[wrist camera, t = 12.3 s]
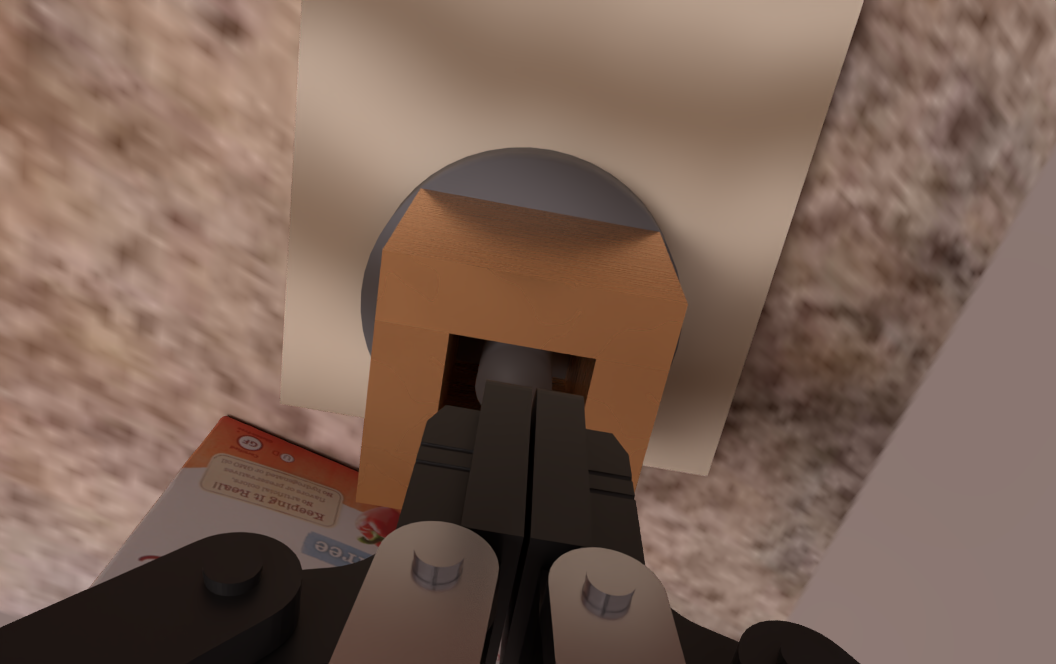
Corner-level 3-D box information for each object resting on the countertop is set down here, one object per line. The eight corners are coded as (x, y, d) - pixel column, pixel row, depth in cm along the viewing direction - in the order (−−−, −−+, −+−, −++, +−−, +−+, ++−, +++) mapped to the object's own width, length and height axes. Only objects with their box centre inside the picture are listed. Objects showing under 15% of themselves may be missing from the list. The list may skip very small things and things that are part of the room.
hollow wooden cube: (420, 188, 21) (382, 249, 16) (659, 231, 21) (688, 304, 17) (394, 398, 23) (355, 502, 19) (607, 434, 24) (619, 545, 19)
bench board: (355, -604, 17) (232, -953, 10) (990, -461, 17) (1239, -706, 11) (293, 381, 27) (211, 510, 20) (699, 451, 27) (742, 597, 21)
